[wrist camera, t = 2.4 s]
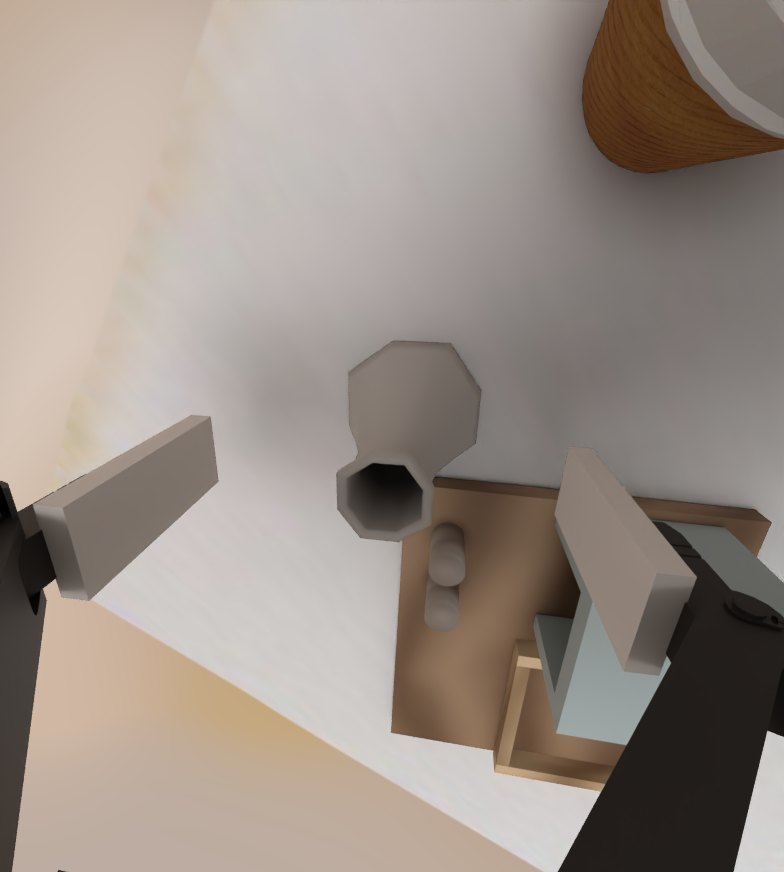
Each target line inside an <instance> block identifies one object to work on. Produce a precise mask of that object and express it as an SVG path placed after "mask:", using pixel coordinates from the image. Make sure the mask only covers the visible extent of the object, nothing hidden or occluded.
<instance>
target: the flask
mask: <svg viewBox="0 0 784 872" xmlns="http://www.w3.org/2000/svg"><path fill="white" fill-rule="evenodd" d="M348 374H349V425H350V429H351V431H352V434H353V436H354V439H355V441H356V444H357V448H358V455H357V457H356V459H355V460H354V461H353V462H351V463H349V464H348V465H346V466H345V467H343V468H341V469H340V470H338V472H337V509H338V511H339V512H340V513H341V514H342V516H343V517H344V518H345V519H346V521H347V522H348V523H349V524H350V526H351V527H352V528H353V529H354V531H355V532H356V533H357V534H358V535H359V537H360V538H365V539H375V540H384V541H394V542H399V541H401V540H403V539H405V538H407V537H409V536H411V535H413V534H415V533H417V532H419V531H421V530H423V529H425V528H427V527H428V526H430V525H431V522H432V510H433V495H434V485H433V483H432V480H433V479H434V477H435V475H436V473H437V472H438V471H439V470H441V469H442V468H443V467H444V466H446V465H447V464H448V463H449V462H450V461H452V460H453V459H454V458H455V457H457V456H458V455H460V454H461V453H463V452H464V451H466V450H467V449H469V448H470V447H472V446H473V445H474V444H475V443H476V436H477V427H478V417H479V408H480V398H481V390H480V388H479V387H478V385H477V384H476V382H475V380H474V379H473V377H472V376H471V374H470V373H469V371H468V370H467V368H466V367H465V365H464V364H463V362H462V360H461V359H460V357H459V356H458V354H457V353H456V351H455V350H454V348H453V347H452V345H451V344H450V343H428V342H407V341H392V342H391V343H389V344H388V345H386V346H385V347H383V348H382V349H381V350H379V351H378V352H376V353H375V354H374V355H372V356H371V357H369V358H368V359H366V360H365V361H364V362H362V363H361V364H359V365H358V366H357V367H355V368H354V369H352V370H351V371H349V372H348Z"/></svg>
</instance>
